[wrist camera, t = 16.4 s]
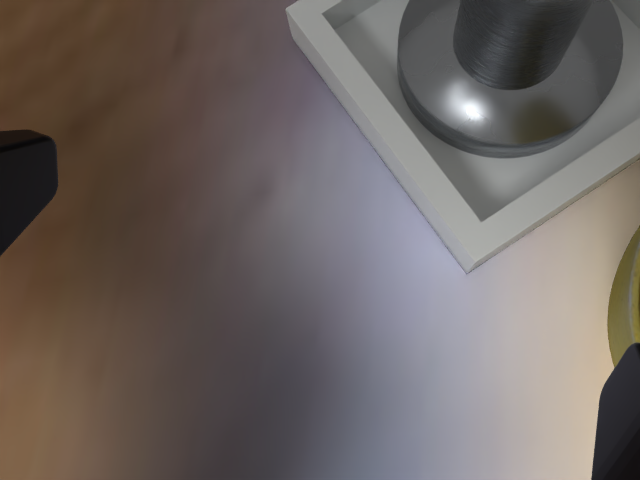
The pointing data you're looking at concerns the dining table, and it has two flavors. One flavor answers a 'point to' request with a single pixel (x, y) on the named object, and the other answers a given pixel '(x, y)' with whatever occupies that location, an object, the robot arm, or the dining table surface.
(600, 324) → the dining table surface
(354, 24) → the tray
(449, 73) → the steel stop
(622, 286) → the flower pot
